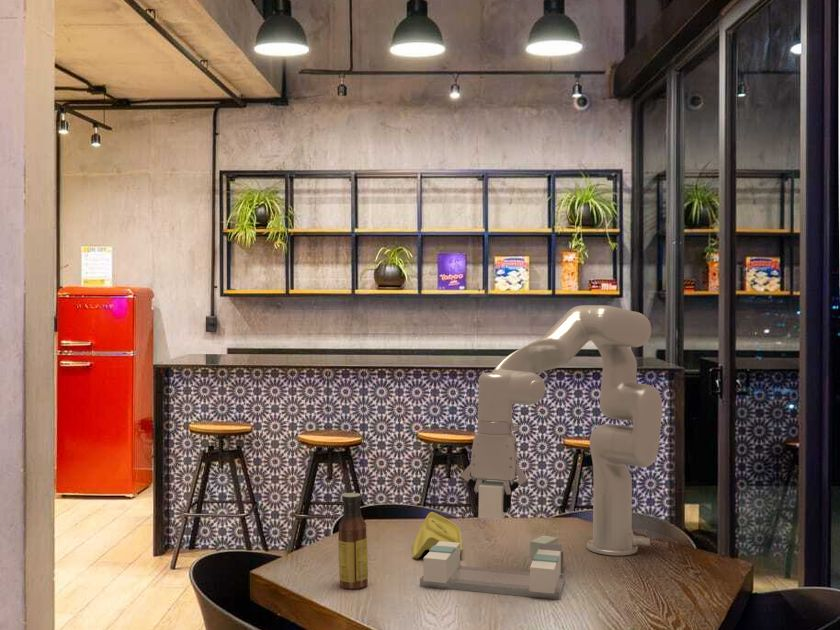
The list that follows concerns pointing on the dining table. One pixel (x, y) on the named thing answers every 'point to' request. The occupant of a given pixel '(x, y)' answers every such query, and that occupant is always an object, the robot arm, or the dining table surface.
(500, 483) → the block
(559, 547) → the block
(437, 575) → the block
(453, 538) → the plastic component
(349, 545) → the sauce bottle
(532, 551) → the block
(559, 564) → the mounted module
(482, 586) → the rail
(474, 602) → the dining table surface
